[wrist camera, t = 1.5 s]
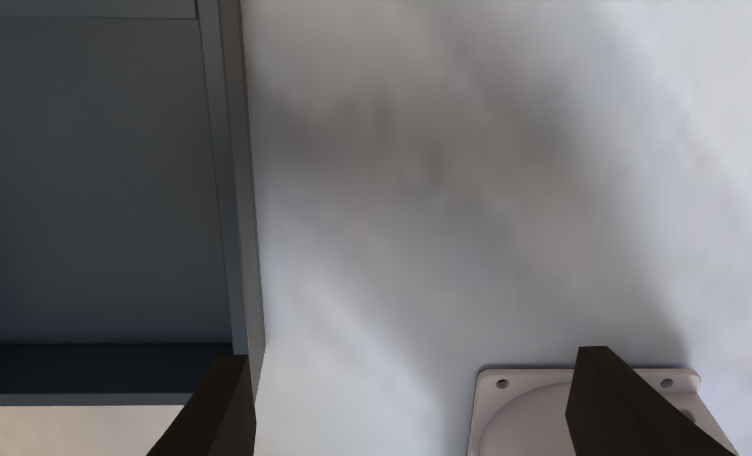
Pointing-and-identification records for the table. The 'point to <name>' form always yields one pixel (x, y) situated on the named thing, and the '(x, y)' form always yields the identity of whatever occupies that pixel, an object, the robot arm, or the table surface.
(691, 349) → the table surface
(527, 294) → the table surface
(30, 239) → the tray
